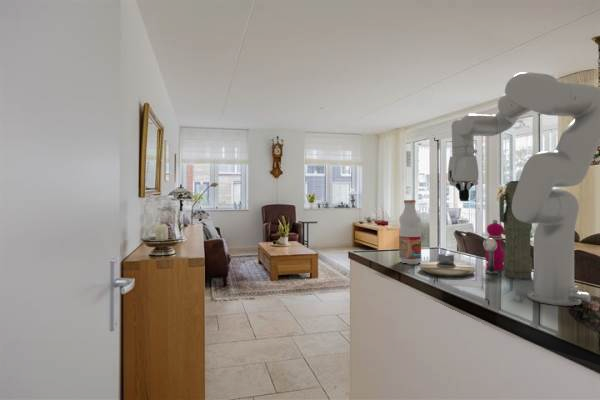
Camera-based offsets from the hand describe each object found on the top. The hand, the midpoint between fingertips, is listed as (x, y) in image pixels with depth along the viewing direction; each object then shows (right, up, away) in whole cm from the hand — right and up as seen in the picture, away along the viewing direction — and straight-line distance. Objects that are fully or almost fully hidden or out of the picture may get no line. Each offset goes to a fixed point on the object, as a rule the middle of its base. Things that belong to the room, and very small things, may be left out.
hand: (464, 200), depth 139 cm
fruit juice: (-13, -28, +25) cm, 40 cm away
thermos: (+17, -28, -5) cm, 33 cm away
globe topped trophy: (+11, -28, +2) cm, 30 cm away
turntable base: (-5, -28, +4) cm, 29 cm away
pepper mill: (+18, -28, +11) cm, 35 cm away
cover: (-5, -26, +4) cm, 26 cm away
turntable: (-5, -27, +4) cm, 27 cm away
